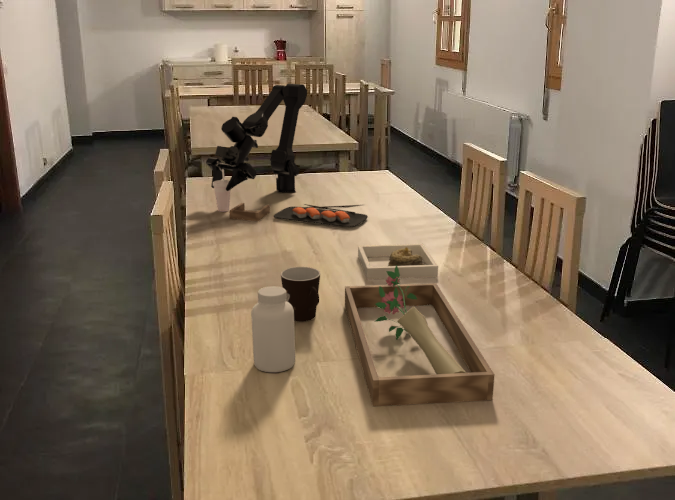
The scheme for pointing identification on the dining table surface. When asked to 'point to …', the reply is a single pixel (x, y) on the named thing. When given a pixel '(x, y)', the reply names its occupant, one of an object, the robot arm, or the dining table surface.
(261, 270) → the dining table surface
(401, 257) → the brown round lump
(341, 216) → the sushi plate
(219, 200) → the smoothie
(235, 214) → the rest
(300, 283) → the coffee mug
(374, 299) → the flower tray
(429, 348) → the flower vase
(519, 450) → the dining table surface
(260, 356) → the pill bottle
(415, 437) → the dining table surface
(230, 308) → the dining table surface
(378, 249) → the bagel tray
